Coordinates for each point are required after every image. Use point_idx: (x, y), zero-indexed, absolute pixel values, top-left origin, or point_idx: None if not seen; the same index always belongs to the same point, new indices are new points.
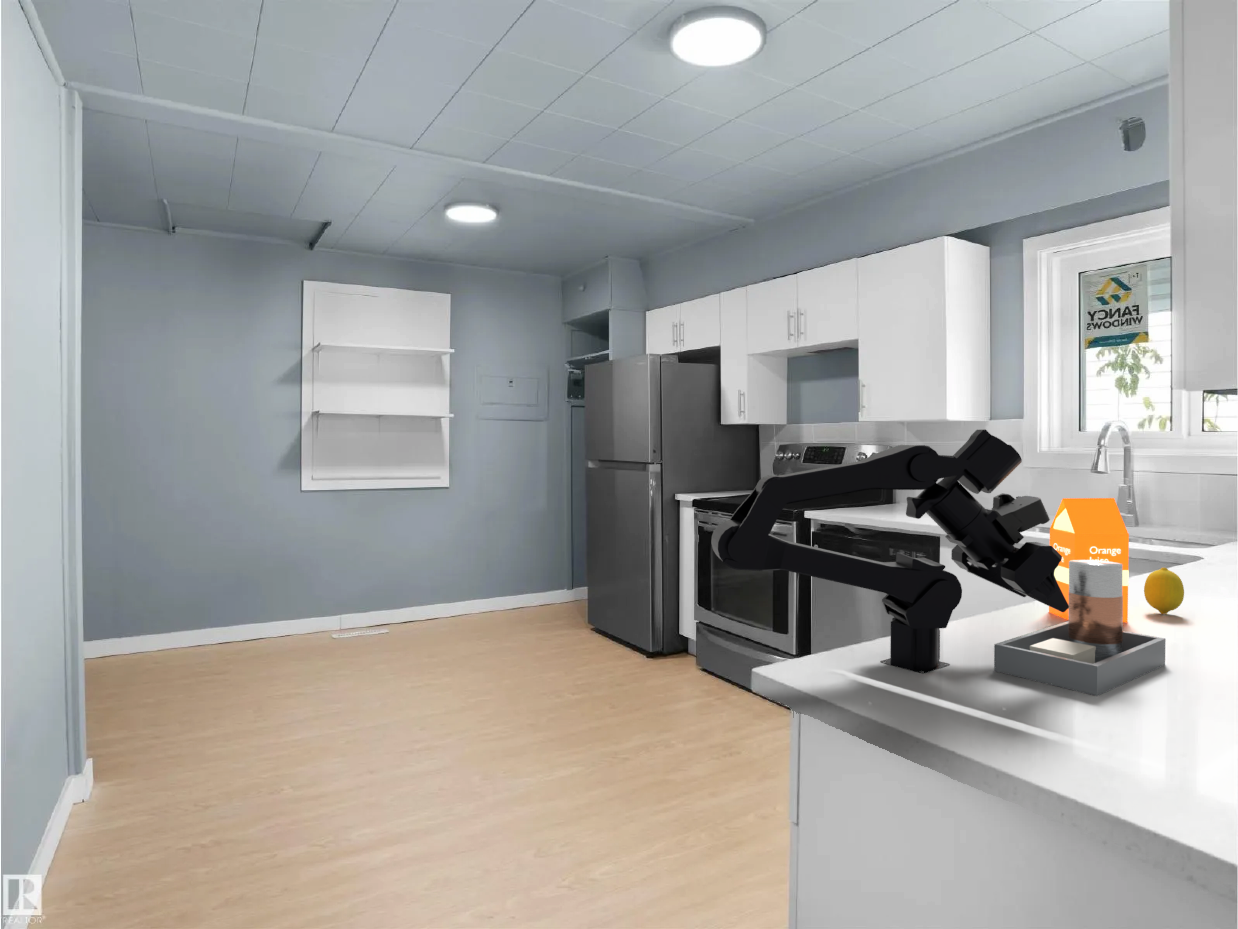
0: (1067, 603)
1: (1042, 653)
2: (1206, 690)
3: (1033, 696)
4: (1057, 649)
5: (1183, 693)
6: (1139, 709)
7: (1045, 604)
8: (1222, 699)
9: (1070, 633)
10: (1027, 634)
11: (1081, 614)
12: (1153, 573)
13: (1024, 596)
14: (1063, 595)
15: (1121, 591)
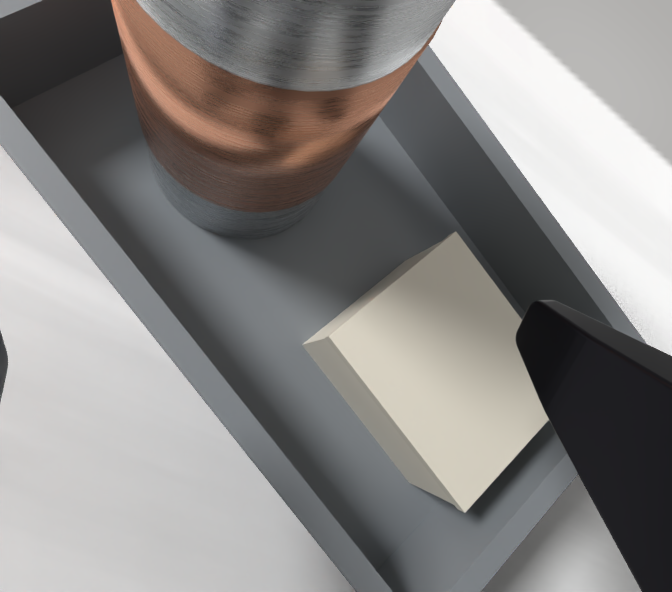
0: (576, 311)
1: (544, 494)
2: (465, 22)
3: (556, 538)
4: (509, 414)
5: (493, 99)
6: (615, 295)
7: (574, 459)
8: (527, 44)
9: (241, 203)
10: (226, 416)
11: (338, 146)
12: None
13: (3, 363)
14: (651, 347)
15: None
